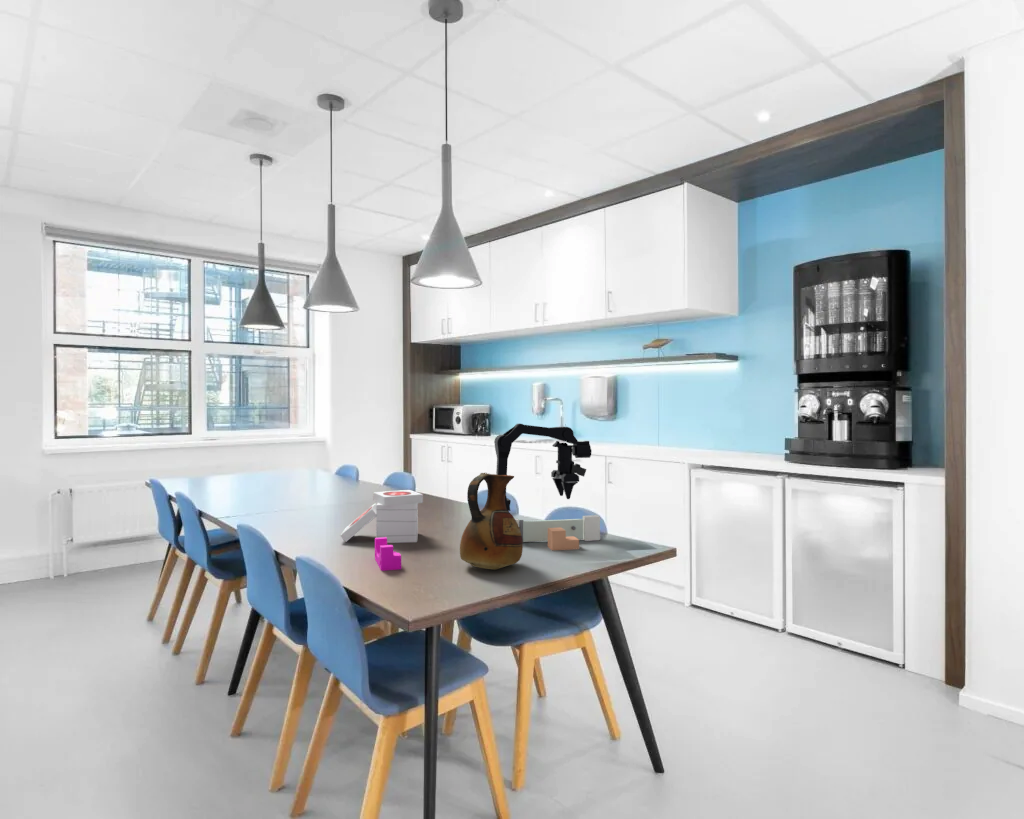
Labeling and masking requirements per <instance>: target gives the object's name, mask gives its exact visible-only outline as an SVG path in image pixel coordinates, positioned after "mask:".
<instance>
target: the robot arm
mask: <svg viewBox="0 0 1024 819" xmlns="http://www.w3.org/2000/svg"><path fill="white" fill-rule="evenodd" d="M574 433H575V432H574V430H573V429H572V428H571V427H569V426H554V427H553V426H552V427H547V426H546V427H545V426H540V425H539V426H538V425H530V424H523V423H516V424H515V425H514V426H512V427H511V428H510V429H508V430H507V431H505V433H503V434H499V435H497V436H496V437H495V438H494V442H493V443H494V451H495V455H496V471H495V472H496V473H495V474H496V475H508V458H509V455H510V453H511V450H512V445H513V443H514V442H516V440H518V438H520V436H522V435H531V436H532V435H533V436H542V437H547V438H548V437H549V438H551V439H555V442H554V443H553V444H552V447H553V448H557V460H555V464H557V469H553V470H552V471H551V474H550V476H551V477H550V478H551V479H552V480H553V482H554V485H555V487H556V489H557V492H558V494H559V496H560V497H563V496H564V494H565V498H566V500H570V498H571V495H572V492H573V489H574V486H575V485H577V484H578V482H580V476H581V477H585V475H586V472H587V468H584V467H581V464H579V463H575V461H574V460H573V456H574V457H575V459H588V458H589V459H590V458H591V457H592V448H591V447H592V446H591V445H590V440H584V441H580V440H579V441H578V438H576V437H575V435H574ZM560 441H561V442H560ZM569 444H570V445H569ZM505 504H506V509H507V511H508V512H509V513H510V511H511V507H510V506H511V499H509V498H508V496H507V495H506V496H505Z"/></svg>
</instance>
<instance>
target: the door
mask: <svg viewBox="0 0 1024 819" xmlns="http://www.w3.org/2000/svg"><path fill="white" fill-rule="evenodd" d="M560 527H561V528H562V529H564V530H566V537H571V536H574V537H576V538H577V539H579V540H583V518H570V519H564V518H563V519H545V520H544V519H543V520H524V519H519V528H520V531H521V535H522V542H523V543H529V542H532V543H533V542H548V528H560Z"/></svg>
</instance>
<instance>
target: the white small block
mask: <svg viewBox="0 0 1024 819" xmlns="http://www.w3.org/2000/svg"><path fill="white" fill-rule="evenodd" d="M514 519H515V520H516V522H517V523H518V526H519V520H520V519H518V518H515V517H514ZM582 519H583V539H582V540H583V541H584V542H585V541H586V542H587V541H588V542H589V541H590V542H591V541H601V516H600V515H598V514H596V515H595V514H593V515H591V514H590V515H582Z"/></svg>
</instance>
